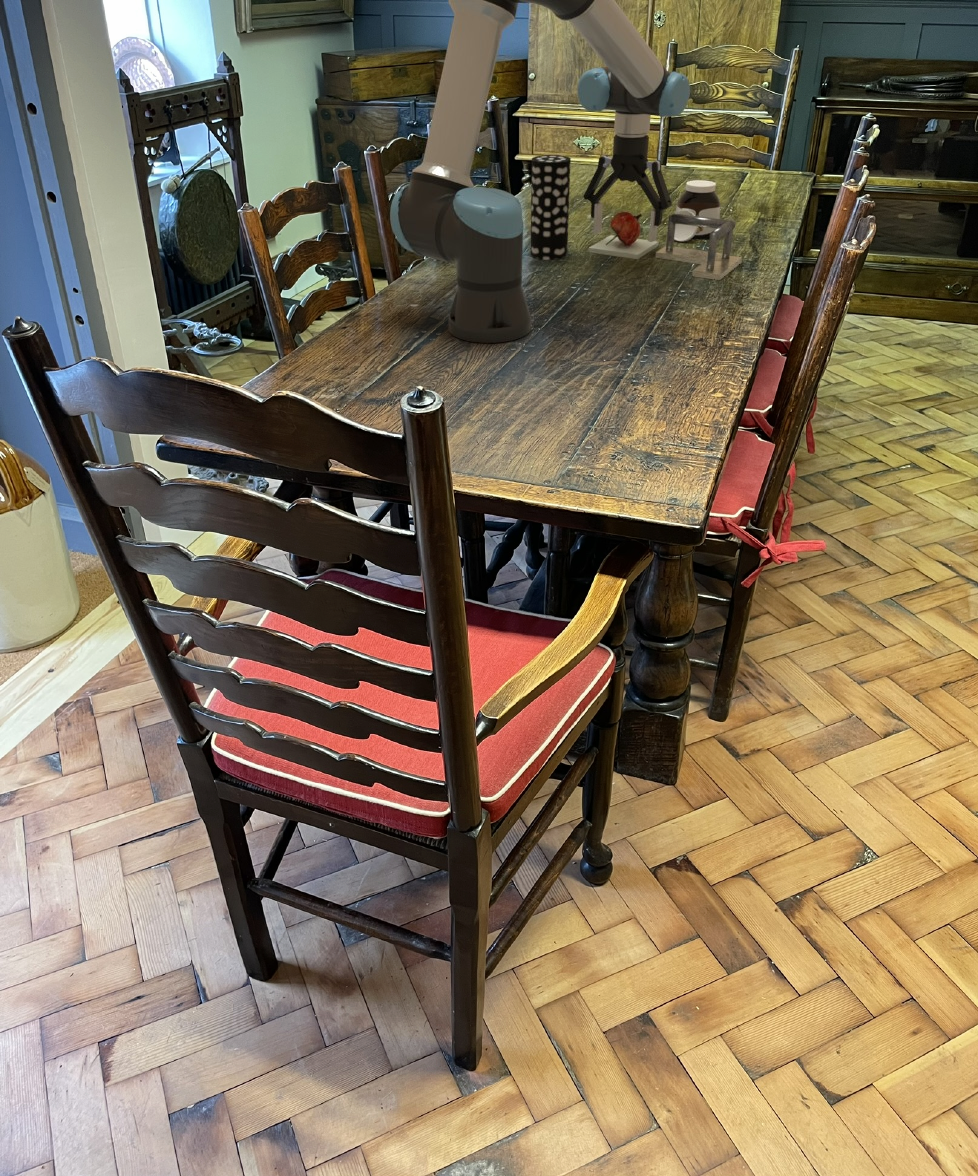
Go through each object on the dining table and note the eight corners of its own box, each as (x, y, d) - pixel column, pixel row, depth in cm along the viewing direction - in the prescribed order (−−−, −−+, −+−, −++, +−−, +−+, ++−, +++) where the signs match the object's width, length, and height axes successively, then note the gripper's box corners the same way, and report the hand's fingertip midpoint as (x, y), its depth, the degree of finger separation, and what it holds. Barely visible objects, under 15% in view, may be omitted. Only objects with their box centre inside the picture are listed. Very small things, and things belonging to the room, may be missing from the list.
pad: (637, 259, 206) (637, 254, 206) (588, 252, 211) (588, 247, 211) (658, 246, 215) (658, 241, 214) (610, 239, 220) (610, 235, 219)
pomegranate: (615, 260, 210) (652, 231, 207) (596, 232, 208) (634, 203, 204) (613, 254, 217) (649, 226, 213) (595, 228, 214) (631, 199, 211)
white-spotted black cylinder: (564, 260, 206) (568, 163, 195) (527, 259, 207) (528, 162, 196) (569, 250, 213) (573, 155, 201) (533, 249, 214) (535, 154, 203)
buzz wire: (719, 280, 193) (725, 235, 188) (639, 268, 201) (642, 224, 196) (742, 262, 204) (748, 218, 198) (665, 251, 211) (669, 209, 206)
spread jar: (715, 231, 225) (721, 180, 218) (720, 244, 216) (726, 190, 209) (664, 231, 226) (669, 179, 219) (667, 243, 217) (672, 190, 210)
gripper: (693, 136, 197) (682, 239, 209) (586, 127, 207) (582, 226, 219) (680, 141, 191) (670, 248, 203) (571, 132, 202) (567, 233, 214)
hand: (624, 237), depth 211 cm, fingers open, 13 cm apart
